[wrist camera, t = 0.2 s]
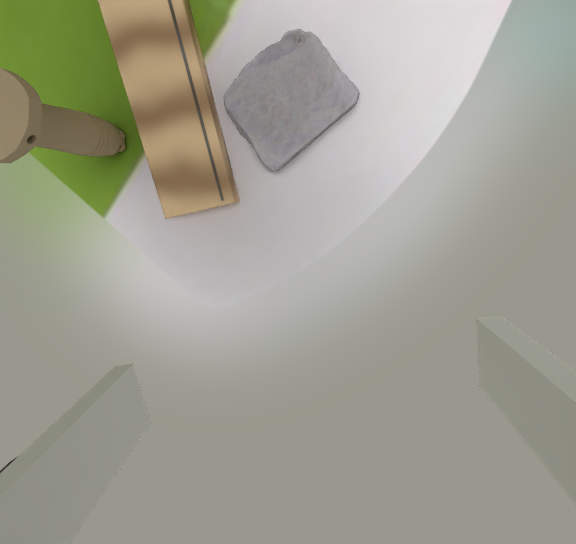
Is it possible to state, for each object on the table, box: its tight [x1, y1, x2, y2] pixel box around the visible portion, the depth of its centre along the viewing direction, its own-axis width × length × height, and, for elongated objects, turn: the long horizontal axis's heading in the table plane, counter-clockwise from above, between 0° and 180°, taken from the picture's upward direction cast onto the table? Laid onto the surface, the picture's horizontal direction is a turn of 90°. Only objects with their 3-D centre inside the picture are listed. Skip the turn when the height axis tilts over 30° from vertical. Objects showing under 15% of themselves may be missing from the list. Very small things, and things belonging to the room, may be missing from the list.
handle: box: [0, 68, 126, 163], centre depth 31 cm, size 5×6×15 cm
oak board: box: [98, 0, 240, 219], centre depth 35 cm, size 22×8×3 cm, turn 13°
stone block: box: [224, 29, 359, 171], centre depth 35 cm, size 12×5×10 cm
